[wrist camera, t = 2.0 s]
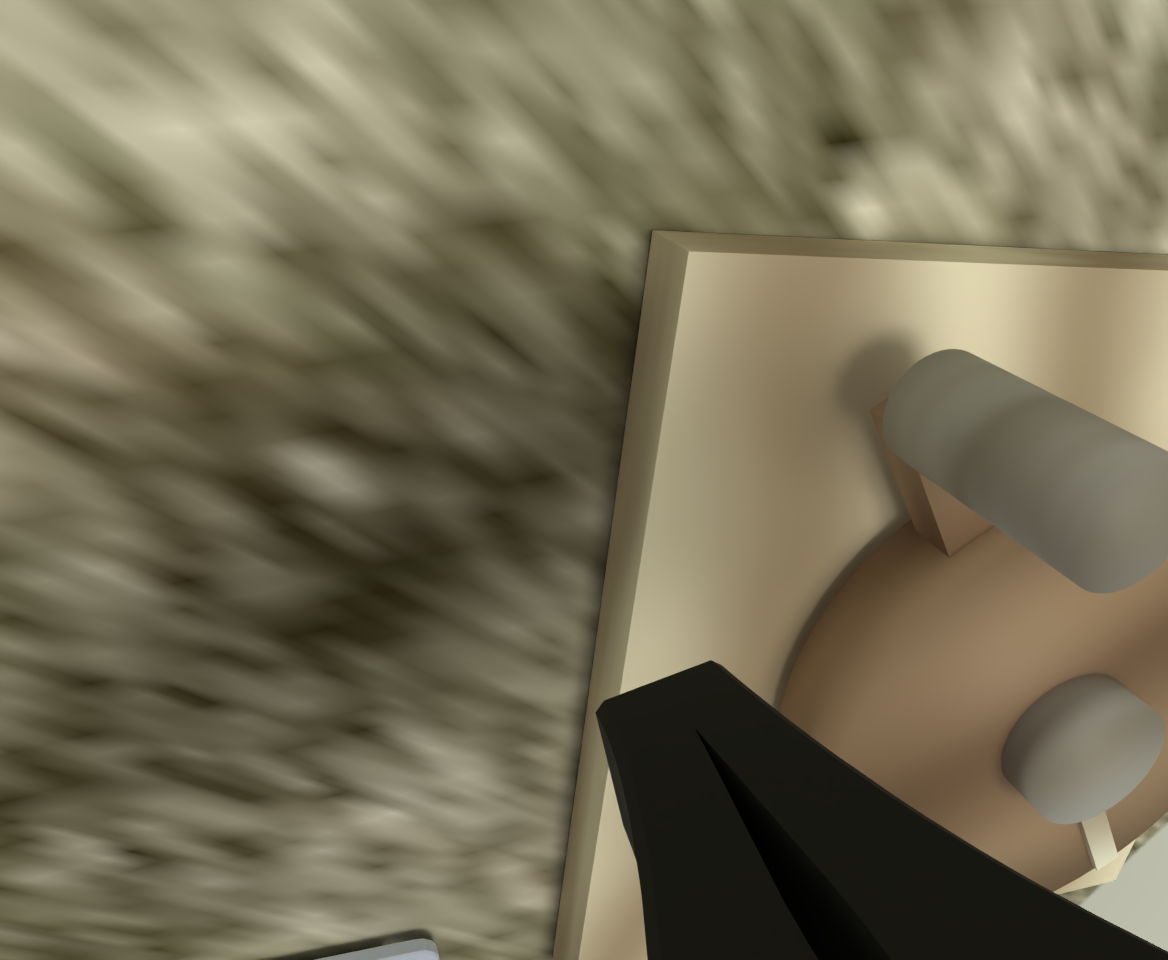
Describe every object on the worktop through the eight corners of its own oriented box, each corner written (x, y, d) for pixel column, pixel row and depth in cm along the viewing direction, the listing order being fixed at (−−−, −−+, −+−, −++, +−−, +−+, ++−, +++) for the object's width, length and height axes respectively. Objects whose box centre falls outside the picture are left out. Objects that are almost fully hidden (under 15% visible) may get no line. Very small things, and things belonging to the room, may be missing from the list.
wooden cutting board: (552, 956, 23) (572, 1016, 22) (652, 230, 15) (692, 253, 14) (1076, 841, 29) (1118, 883, 27) (1346, 262, 21) (1422, 281, 20)
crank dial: (1220, 681, 24) (1440, 837, 19) (864, 920, 24) (1005, 1131, 19) (1146, 158, 16) (1496, 222, 11) (603, 515, 15) (744, 721, 11)
